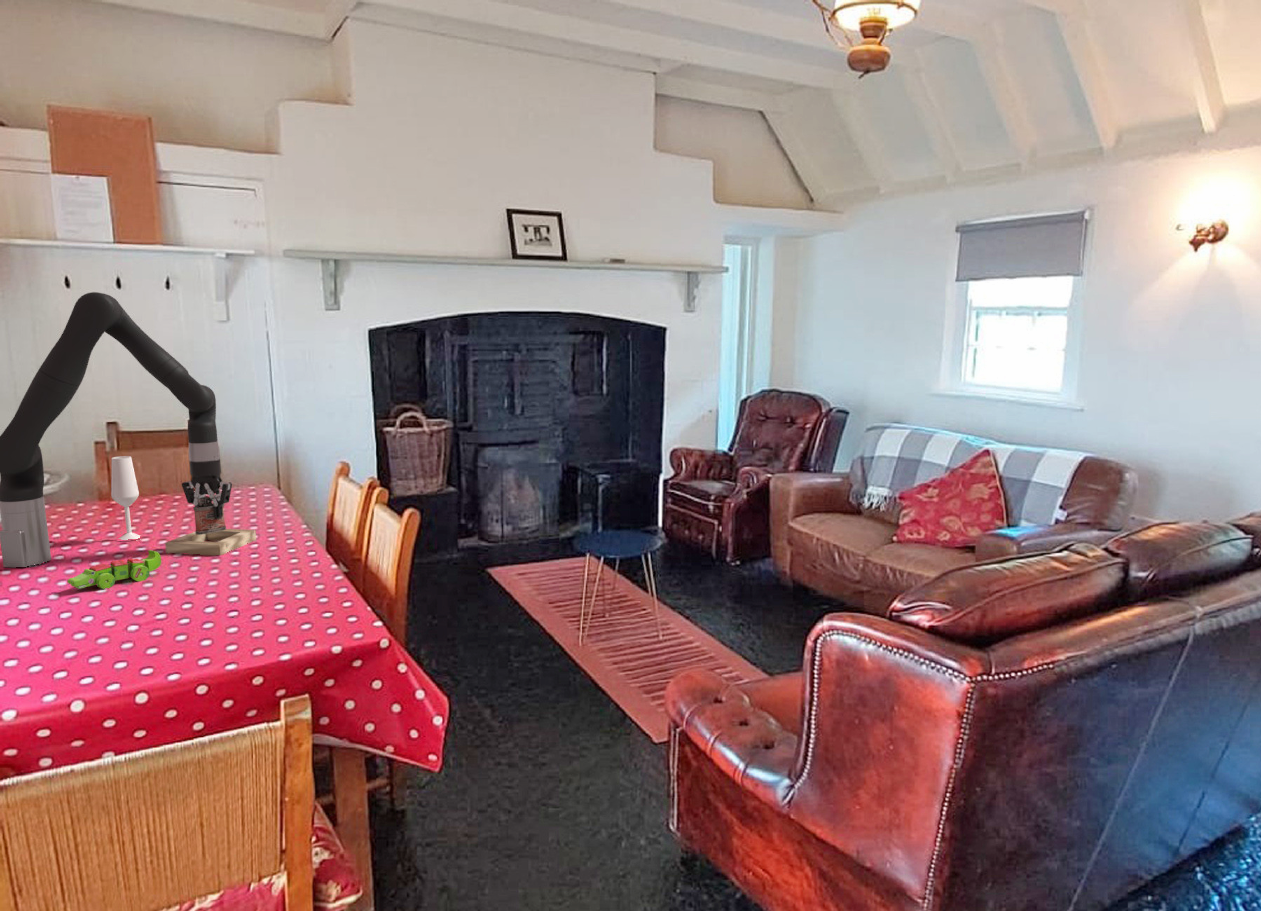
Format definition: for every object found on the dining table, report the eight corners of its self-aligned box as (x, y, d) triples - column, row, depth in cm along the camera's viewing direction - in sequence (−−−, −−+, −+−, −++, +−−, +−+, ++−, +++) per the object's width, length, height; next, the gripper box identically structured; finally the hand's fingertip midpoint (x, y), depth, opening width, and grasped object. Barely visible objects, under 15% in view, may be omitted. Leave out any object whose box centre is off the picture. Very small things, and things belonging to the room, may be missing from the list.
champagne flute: (121, 543, 224) (113, 460, 221) (112, 539, 228) (103, 457, 225) (147, 538, 230) (139, 457, 226) (137, 534, 234) (129, 454, 230)
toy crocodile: (75, 596, 181) (72, 571, 180) (65, 590, 185) (62, 565, 184) (167, 575, 196) (165, 551, 195) (156, 570, 200) (154, 547, 199)
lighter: (198, 535, 216) (195, 499, 215) (193, 533, 218) (190, 498, 217) (228, 529, 223) (225, 495, 221) (222, 527, 225) (219, 493, 223)
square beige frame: (220, 555, 212) (219, 544, 212) (166, 553, 214) (165, 542, 214) (256, 540, 228) (255, 529, 228) (205, 537, 230) (204, 528, 230)
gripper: (171, 459, 214) (176, 520, 217) (219, 461, 213) (224, 522, 215) (190, 455, 222) (195, 514, 225) (237, 456, 220) (241, 516, 223)
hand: (209, 518), depth 220 cm, fingers closed on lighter, 4 cm apart
